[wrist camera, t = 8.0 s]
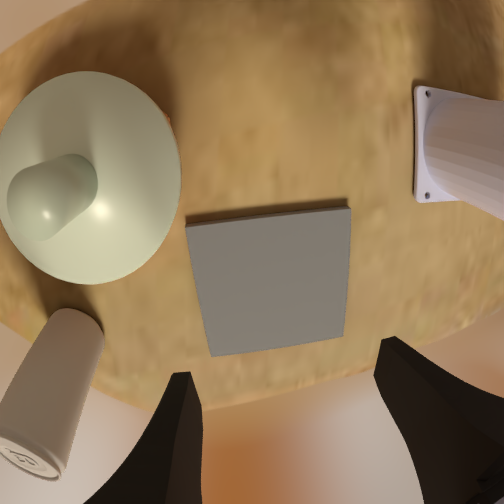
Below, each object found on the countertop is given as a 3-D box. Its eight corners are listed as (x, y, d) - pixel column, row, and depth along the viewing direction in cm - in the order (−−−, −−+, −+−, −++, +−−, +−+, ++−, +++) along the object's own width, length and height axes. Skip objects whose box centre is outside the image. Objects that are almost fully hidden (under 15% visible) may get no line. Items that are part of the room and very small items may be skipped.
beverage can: (43, 304, 19) (-31, 425, 8) (95, 302, 20) (32, 444, 9) (64, 353, 21) (16, 472, 10) (114, 353, 22) (78, 489, 11)
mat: (347, 205, 19) (351, 208, 18) (340, 331, 23) (343, 336, 22) (186, 224, 18) (185, 227, 18) (211, 351, 22) (211, 356, 22)
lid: (166, 48, 11) (146, 20, 7) (199, 262, 15) (195, 311, 11) (-12, 114, 10) (-64, 121, 7) (32, 286, 15) (-2, 329, 11)
